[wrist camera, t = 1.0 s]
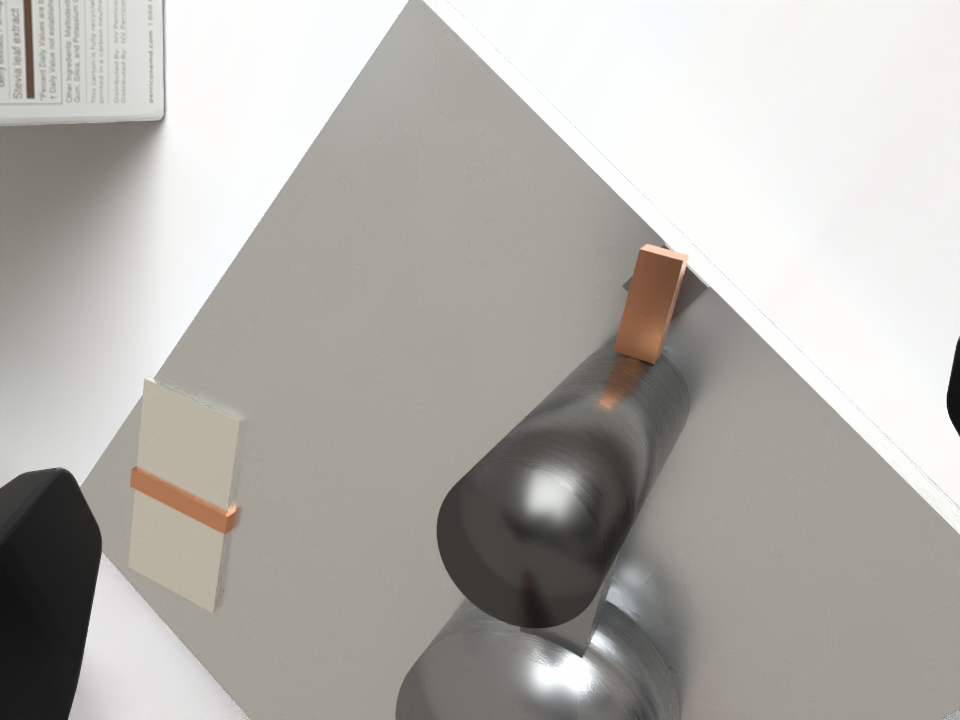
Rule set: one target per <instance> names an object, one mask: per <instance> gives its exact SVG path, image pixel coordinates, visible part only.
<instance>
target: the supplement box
mask: <svg viewBox="0 0 960 720" xmlns="http://www.w3.org/2000/svg"><path fill="white" fill-rule="evenodd" d="M163 116H164V78H163V14H162V0H0V127H4V126H29V125H54V124H79V123H109V122H125V121H158V120H160V119H161V118H162V117H163Z"/></svg>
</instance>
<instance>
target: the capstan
mask: <svg viewBox="0 0 960 720" xmlns="http://www.w3.org/2000/svg"><path fill="white" fill-rule="evenodd" d="M688 257H689V255H686V254H683V253H679V252H675V251H671V250H668V249H664V248H660V247H657V246H653V245H649V244H646V245H645V246H643V247H642V248H640V250H639V254H638V258H637V261H636V265H635V269H634V273H633V277H632V281H631V284H630V288H629V292H628V296H627V300H626V304H625V308H624V311H623V315H622V319H621V323H620V327H619V331H618V335H617V338H616V342H615V343H614V344H610V345H607V346H604V347H602V348H600V349H598V350H596V351H595V352H593V353H592V354H591V355H589V356H588V357H587V358H586V359H585V360H584V361H583V362H582V363H581V364H580V365H579V366H578V367H577V368H576V369H575V370H574V371H573V372H571V373H570V374H569V375H568V376H567V377H566V378H565V379H564V380H563V381H562V382H561V383H560V384H559V385H558V386H557V387H556V388H555V389H554V390H553V391H552V392H551V393H550V394H549V395H548V396H547V397H545V398H544V399H543V400H542V401H541V402H540V403H539V404H538V405H537V406H536V407H535V408H534V409H533V410H532V411H531V412H530V413H529V414H528V415H527V416H526V417H525V418H524V419H523V420H522V421H520V422H519V423H518V424H517V425H516V426H515V427H514V428H513V429H512V430H511V431H510V432H509V433H508V434H507V435H506V436H505V437H504V438H503V439H502V440H501V441H500V442H499V443H498V444H497V445H496V446H494V447H493V448H492V449H491V450H490V451H489V452H488V453H487V454H486V455H485V456H484V457H483V458H482V459H481V460H480V461H479V462H478V463H477V464H476V465H475V466H474V467H473V468H472V469H471V470H469V471H468V472H467V473H466V474H465V475H464V476H463V477H462V478H461V479H460V480H459V481H458V482H457V483H456V484H455V485H454V486H453V487H452V488H451V490H450V491H449V492H448V494H447V495H446V497H445V498H444V500H443V502H442V505H441V507H440V510H439V514H438V518H437V527H436V529H437V543H438V549H439V552H440V556H441V559H442V561H443V564H444V566H445V569H446V570H447V572H448V574H449V576H450V578H451V579H452V581H453V582H454V584H455V585H456V586H457V588H458V589H459V590H460V591H461V592H462V594H463V595H464V596H465V597H466V598H467V599H466V600H465V601H464V602H463V603H462V604H461V605H460V606H459V607H458V608H457V610H456V611H455V612H454V613H453V615H452V616H451V617H450V619H449V620H448V621H447V622H446V624H445V625H444V626H443V627H442V629H441V630H440V631H439V633H438V634H437V635H436V636H435V638H434V639H433V640H432V642H431V643H430V644H429V645H428V647H427V648H426V649H425V650H424V652H423V653H422V654H421V656H420V657H419V658H418V659H417V661H416V662H415V663H414V664H413V666H412V667H411V669H410V670H409V672H408V673H407V674H406V676H405V678H404V680H403V683H402V685H401V687H400V690H399V694H398V698H397V703H396V712H395V720H679V703H678V697H677V692H676V688H675V684H674V681H673V679H672V676H671V673H670V670H669V668H668V667H667V665H666V663H665V661H664V659H663V657H662V655H661V654H660V652H659V651H658V649H657V648H656V646H655V645H654V643H653V642H652V640H651V639H650V638H649V637H648V636H647V634H646V633H645V632H644V631H643V630H642V629H641V627H640V626H638V625H637V624H636V623H635V622H634V621H633V620H632V619H631V618H630V617H629V616H628V615H627V614H625V613H624V612H623V611H622V610H620V609H619V608H618V607H616V606H615V605H614V604H612V603H611V602H609V601H607V600H606V598H607V595H608V591H609V588H610V584H611V581H612V577H613V574H614V570H615V567H616V564H617V560H618V557H619V553H620V550H621V547H622V545H623V543H624V541H625V539H626V537H627V535H628V533H629V531H630V530H631V528H632V526H633V524H634V522H635V520H636V518H637V516H638V514H639V512H640V511H641V509H642V507H643V505H644V503H645V501H646V499H647V497H648V495H649V493H650V491H651V490H652V488H653V486H654V484H655V482H656V480H657V478H658V476H659V474H660V472H661V471H662V469H663V467H664V465H665V463H666V461H667V459H668V457H669V455H670V453H671V452H672V450H673V448H674V446H675V444H676V442H677V440H678V438H679V436H680V434H681V433H682V431H683V429H684V427H685V424H686V422H687V419H688V415H689V408H690V400H689V393H688V388H687V386H686V383H685V380H684V378H683V376H682V374H681V373H680V371H679V370H678V368H677V367H676V366H675V365H674V364H673V363H672V362H671V361H670V360H669V359H668V358H667V357H666V356H664V355H663V354H662V350H663V346H664V342H665V339H666V335H667V332H668V328H669V325H670V321H671V318H672V314H673V311H674V307H675V303H676V300H677V296H678V293H679V289H680V286H681V282H682V279H683V275H684V272H685V268H686V265H687V261H688Z"/></svg>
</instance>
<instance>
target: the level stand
mask: <svg viewBox="0 0 960 720" xmlns="http://www.w3.org/2000/svg"><path fill="white" fill-rule="evenodd" d="M646 244H649V245H653V246H657V247H660V248H664V249H668V250H671V251H675V252H679V253H683V254H686V255H689V257H688V261H687V265H686V268H685V272H684V275H683V279H682V282H681V286H680V289H679V293H678V296H677V300H676V303H675V307H674V311H673V314H672V318H671V321H670V325H669V328H668V332H667V335H666V339H665V342H664V346H663V350H662V354H663V355H664V356H666V357H667V358H668V359H669V360H670V361H671V362H672V363H673V364H674V365H675V366H676V367H677V368H678V370H679V371H680V373H681V374H682V376H683V378H684V380H685V383H686V386H687V388H688V393H689V400H690V408H689V415H688V419H687V422H686V424H685V427H684V429H683V431H682V433H681V434H680V436H679V438H678V440H677V442H676V444H675V446H674V448H673V450H672V452H671V453H670V455H669V457H668V459H667V461H666V463H665V465H664V467H663V469H662V471H661V472H660V474H659V476H658V478H657V480H656V482H655V484H654V486H653V488H652V490H651V491H650V493H649V495H648V497H647V499H646V501H645V503H644V505H643V507H642V509H641V511H640V512H639V514H638V516H637V518H636V520H635V522H634V524H633V526H632V528H631V530H630V531H629V533H628V535H627V537H626V539H625V541H624V543H623V545H622V547H621V550H620V553H619V557H618V560H617V564H616V567H615V570H614V574H613V577H612V581H611V584H610V588H609V591H608V595H607V598H606V600H607V601H609V602H611V603H612V604H614V605H615V606H616V607H618V608H619V609H620V610H622V611H623V612H624V613H625V614H627V615H628V616H629V617H630V618H631V619H632V620H633V621H634V622H635V623H636V624H637V625H638V626H640V627H641V629H642V630H643V631H644V632H645V633H646V634H647V636H648V637H649V638H650V639H651V640H652V642H653V643H654V645H655V646H656V648H657V649H658V651H659V652H660V654H661V655H662V657H663V659H664V661H665V663H666V665H667V667H668V668H669V670H670V673H671V676H672V679H673V681H674V684H675V688H676V692H677V697H678V703H679V720H940V719H942V718H944V717H946V716H948V715H950V714H952V713H954V712H955V711H957V710H959V709H960V509H959V508H958V507H957V506H956V505H955V504H954V503H953V502H952V501H951V500H950V499H949V498H948V497H947V496H946V495H945V494H944V493H943V492H942V491H941V490H940V489H939V488H938V487H937V486H936V485H935V484H934V483H933V482H932V481H931V480H930V479H929V478H928V477H927V476H926V475H925V474H924V473H923V472H922V471H921V470H920V469H919V468H918V467H917V466H916V465H915V464H914V463H913V462H912V461H911V460H910V459H909V458H908V457H907V456H906V455H905V454H904V453H903V452H902V451H901V450H900V449H899V448H898V447H897V446H896V445H895V444H894V443H893V442H892V441H891V440H890V439H889V438H888V437H887V436H886V435H885V434H884V433H883V432H882V431H881V430H880V429H879V428H878V427H877V426H876V425H875V424H874V423H873V422H872V421H871V420H870V419H869V418H868V417H867V416H866V415H865V414H864V413H863V412H861V411H860V410H859V409H858V408H857V407H856V406H855V405H854V404H853V403H852V402H851V401H850V400H849V399H848V398H847V397H846V396H845V395H844V394H843V393H842V392H841V391H840V390H839V389H838V388H837V387H836V386H835V385H834V384H833V383H832V382H831V381H830V380H829V379H828V378H827V377H826V376H825V375H824V374H823V373H822V372H821V371H820V370H819V369H818V368H817V367H816V366H815V365H814V364H813V363H812V362H811V361H810V360H809V359H808V358H807V357H806V356H805V355H804V354H803V353H802V352H801V351H800V350H799V349H798V348H797V347H796V346H795V345H794V344H793V343H792V342H791V341H790V340H789V339H788V338H787V337H786V336H785V335H784V334H783V333H782V332H781V331H780V330H779V329H778V328H777V327H776V326H775V325H774V324H773V323H772V322H771V321H770V320H769V319H768V318H767V317H766V316H765V315H764V314H763V313H762V312H761V311H760V310H759V309H758V308H757V307H756V306H755V305H754V304H753V303H752V302H751V301H750V300H749V299H748V298H747V297H746V296H745V295H743V294H742V293H741V292H740V291H739V290H738V289H737V288H736V287H735V286H734V285H733V284H732V283H731V282H730V281H729V280H728V279H727V278H726V277H725V276H724V275H723V274H722V273H721V272H720V271H719V270H718V269H717V268H716V267H715V266H714V265H713V264H712V263H711V262H710V261H709V260H708V259H707V258H706V257H705V256H704V255H703V254H702V253H701V252H700V251H699V250H698V249H697V248H696V247H695V246H694V245H693V244H692V243H691V242H690V241H689V240H688V239H687V238H686V237H685V236H684V235H683V234H682V233H681V232H680V231H679V230H678V229H677V228H676V227H675V226H674V225H673V224H672V223H671V222H670V221H669V220H668V219H667V218H666V217H665V216H664V215H663V214H662V213H661V212H660V211H659V210H658V209H657V208H656V207H655V206H654V205H653V204H652V203H651V202H650V201H649V200H648V199H647V198H646V197H645V196H644V195H643V194H642V193H641V192H640V191H639V190H638V189H637V188H636V187H635V186H634V185H633V184H632V183H631V182H630V181H629V180H628V179H627V178H625V177H624V176H623V175H622V174H621V173H620V172H619V171H618V170H617V169H616V168H615V167H614V166H613V165H612V164H611V163H610V162H609V161H608V160H607V159H606V158H605V157H604V156H603V155H602V154H601V153H600V152H599V151H598V150H597V149H596V148H595V147H594V146H593V145H592V144H591V143H590V142H589V141H588V140H587V139H586V138H585V137H584V136H583V135H582V134H581V133H580V132H579V131H578V130H577V129H576V128H575V127H574V126H573V125H572V124H571V123H570V122H569V121H568V120H567V119H566V118H565V117H564V116H563V115H562V114H561V113H560V112H559V111H558V110H557V109H556V108H555V107H554V106H553V105H552V104H551V103H550V102H549V101H548V100H547V99H546V98H545V97H544V96H543V95H542V94H541V93H540V92H539V91H538V90H537V89H536V88H535V87H534V86H533V85H532V84H531V83H530V82H529V81H528V80H527V79H526V78H525V77H524V76H523V75H522V74H521V73H520V72H519V71H518V70H517V69H516V68H515V67H514V66H513V65H512V64H511V63H510V62H509V61H507V60H506V59H505V58H504V57H503V56H502V55H501V54H500V53H499V52H498V51H497V50H496V49H495V48H494V47H493V46H492V45H491V44H490V43H489V42H488V41H487V40H486V39H485V38H484V37H483V36H482V35H481V34H480V33H479V32H478V31H477V30H476V29H475V28H474V27H473V26H472V25H471V24H470V23H469V22H468V21H467V20H466V19H465V18H464V17H463V16H462V15H461V14H460V13H459V12H458V11H457V10H456V9H455V8H454V7H453V6H452V5H451V4H450V3H449V2H448V1H447V0H409V1H408V3H407V4H406V6H405V7H404V9H403V10H402V12H401V13H400V15H399V16H398V18H397V19H396V21H395V22H394V24H393V25H392V27H391V28H390V30H389V31H388V32H387V34H386V35H385V37H384V38H383V40H382V41H381V43H380V44H379V46H378V47H377V49H376V50H375V52H374V53H373V55H372V56H371V58H370V59H369V61H368V62H367V64H366V65H365V67H364V68H363V69H362V71H361V72H360V74H359V75H358V77H357V78H356V80H355V81H354V83H353V84H352V86H351V87H350V89H349V90H348V92H347V93H346V95H345V96H344V98H343V99H342V101H341V102H340V104H339V105H338V106H337V108H336V109H335V111H334V112H333V114H332V115H331V117H330V118H329V120H328V121H327V123H326V124H325V126H324V127H323V129H322V130H321V132H320V133H319V135H318V136H317V138H316V139H315V141H314V142H313V144H312V145H311V146H310V148H309V149H308V151H307V152H306V154H305V155H304V157H303V158H302V160H301V161H300V163H299V164H298V166H297V167H296V169H295V170H294V172H293V173H292V175H291V176H290V178H289V179H288V181H287V182H286V183H285V185H284V186H283V188H282V189H281V191H280V192H279V194H278V195H277V197H276V198H275V200H274V201H273V203H272V204H271V206H270V207H269V209H268V210H267V212H266V213H265V215H264V216H263V218H262V219H261V221H260V222H259V223H258V225H257V226H256V228H255V229H254V231H253V232H252V234H251V235H250V237H249V238H248V240H247V241H246V243H245V244H244V246H243V247H242V249H241V250H240V252H239V253H238V255H237V256H236V258H235V259H234V260H233V262H232V263H231V265H230V266H229V268H228V269H227V271H226V272H225V274H224V275H223V277H222V278H221V280H220V281H219V283H218V284H217V286H216V287H215V289H214V290H213V292H212V293H211V295H210V296H209V297H208V299H207V300H206V302H205V303H204V305H203V306H202V308H201V309H200V311H199V312H198V314H197V315H196V317H195V318H194V320H193V321H192V323H191V324H190V326H189V327H188V329H187V330H186V332H185V333H184V335H183V336H182V337H181V339H180V340H179V342H178V343H177V345H176V346H175V348H174V349H173V351H172V352H171V354H170V355H169V357H168V358H167V360H166V361H165V363H164V364H163V366H162V367H161V369H160V370H159V372H158V373H157V374H156V376H155V377H154V378H152V377H147V378H144V390H143V395H142V397H141V398H140V400H139V401H138V403H137V404H136V406H135V407H134V409H133V410H132V411H131V413H130V414H129V416H128V417H127V419H126V420H125V422H124V423H123V425H122V426H121V428H120V429H119V431H118V432H117V434H116V435H115V437H114V438H113V440H112V441H111V443H110V444H109V446H108V447H107V449H106V450H105V451H104V453H103V454H102V456H101V457H100V459H99V460H98V462H97V463H96V465H95V466H94V468H93V469H92V471H91V472H90V474H89V475H88V477H87V478H86V480H85V481H84V483H83V484H82V486H81V487H80V489H81V491H82V493H83V495H84V497H85V499H86V501H87V503H88V505H89V507H90V509H91V511H92V513H93V515H94V517H95V519H96V521H97V523H98V525H99V528H100V532H101V536H102V552H103V553H104V554H105V555H106V556H107V557H108V559H109V560H110V561H111V562H112V563H113V564H114V565H115V566H116V568H117V569H118V570H119V571H120V572H121V573H122V574H123V575H124V577H125V578H126V579H127V580H128V581H129V582H130V583H131V585H132V586H133V587H134V588H135V589H136V590H137V591H138V592H139V594H140V595H141V596H142V597H143V598H144V599H145V600H146V601H147V603H148V604H149V605H150V606H151V607H152V608H153V609H154V611H155V612H156V613H157V614H158V615H159V616H160V617H161V618H162V620H163V621H164V622H165V623H166V624H167V625H168V626H169V627H170V629H171V630H172V631H173V632H174V633H175V634H176V635H177V637H178V638H179V639H180V640H181V641H182V642H183V643H184V644H185V646H186V647H187V648H188V649H189V650H190V651H191V652H192V654H193V655H194V656H195V657H196V658H197V659H198V660H199V661H200V663H201V664H202V665H203V666H204V667H205V668H206V669H207V670H208V672H209V673H210V674H211V675H212V676H213V677H214V678H215V680H216V681H217V682H218V683H219V684H220V685H221V686H222V687H223V689H224V690H225V691H226V692H227V693H228V694H229V695H230V696H231V698H232V699H233V700H234V701H235V702H236V703H237V704H238V706H239V707H240V708H241V709H242V710H243V711H244V712H245V713H246V715H247V716H248V717H249V718H250V719H251V720H395V712H396V703H397V698H398V694H399V690H400V687H401V685H402V683H403V680H404V678H405V676H406V674H407V673H408V672H409V670H410V669H411V667H412V666H413V664H414V663H415V662H416V661H417V659H418V658H419V657H420V656H421V654H422V653H423V652H424V650H425V649H426V648H427V647H428V645H429V644H430V643H431V642H432V640H433V639H434V638H435V636H436V635H437V634H438V633H439V631H440V630H441V629H442V627H443V626H444V625H445V624H446V622H447V621H448V620H449V619H450V617H451V616H452V615H453V613H454V612H455V611H456V610H457V608H458V607H459V606H460V605H461V604H462V603H463V602H464V601H465V600H466V599H467V598H466V597H465V596H464V595H463V594H462V592H461V591H460V590H459V589H458V588H457V586H456V585H455V584H454V582H453V581H452V579H451V578H450V576H449V574H448V572H447V570H446V569H445V566H444V564H443V561H442V559H441V556H440V552H439V549H438V543H437V529H436V527H437V518H438V514H439V510H440V507H441V505H442V502H443V500H444V498H445V497H446V495H447V494H448V492H449V491H450V490H451V488H452V487H453V486H454V485H455V484H456V483H457V482H458V481H459V480H460V479H461V478H462V477H463V476H464V475H465V474H466V473H467V472H468V471H469V470H471V469H472V468H473V467H474V466H475V465H476V464H477V463H478V462H479V461H480V460H481V459H482V458H483V457H484V456H485V455H486V454H487V453H488V452H489V451H490V450H491V449H492V448H493V447H494V446H496V445H497V444H498V443H499V442H500V441H501V440H502V439H503V438H504V437H505V436H506V435H507V434H508V433H509V432H510V431H511V430H512V429H513V428H514V427H515V426H516V425H517V424H518V423H519V422H520V421H522V420H523V419H524V418H525V417H526V416H527V415H528V414H529V413H530V412H531V411H532V410H533V409H534V408H535V407H536V406H537V405H538V404H539V403H540V402H541V401H542V400H543V399H544V398H545V397H547V396H548V395H549V394H550V393H551V392H552V391H553V390H554V389H555V388H556V387H557V386H558V385H559V384H560V383H561V382H562V381H563V380H564V379H565V378H566V377H567V376H568V375H569V374H570V373H571V372H573V371H574V370H575V369H576V368H577V367H578V366H579V365H580V364H581V363H582V362H583V361H584V360H585V359H586V358H587V357H588V356H589V355H591V354H592V353H593V352H595V351H596V350H598V349H600V348H602V347H604V346H607V345H610V344H614V343H615V342H616V338H617V335H618V331H619V327H620V323H621V319H622V315H623V311H624V308H625V304H626V300H627V296H628V292H629V288H630V284H631V281H632V277H633V273H634V269H635V265H636V261H637V258H638V254H639V250H640V248H642V247H643V246H645V245H646Z"/></svg>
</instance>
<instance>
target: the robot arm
mask: <svg viewBox="0 0 960 720" xmlns="http://www.w3.org/2000/svg"><path fill="white" fill-rule="evenodd" d="M947 409H948V414H949V417H950V419H951V421H952V424H953V425H954V427H955V429H956V431H957V432H958V434H959V436H960V337H959V339H958V342H957V345H956V350H955V355H954V360H953V366H952V371H951V376H950V381H949V386H948V392H947ZM101 553H102V536H101V532H100V528H99V525H98V523H97V521H96V519H95V517H94V515H93V513H92V511H91V509H90V507H89V505H88V503H87V501H86V499H85V497H84V495H83V493H82V491H81V489H80V487H79V485H78V483H77V481H76V479H75V478H74V476H73V475H72V474H71V473H70V472H69V471H68V470H66V469H63V468H52V469H45V470H38V471H32V472H26V473H23V474H21V475H19V476H17V477H16V478H14V479H13V480H12V481H10V482H9V483H7V484H6V485H5V486H3V487H2V488H0V720H68V717H69V714H70V710H71V706H72V703H73V699H74V695H75V692H76V688H77V684H78V679H79V674H80V670H81V665H82V660H83V654H84V648H85V643H86V637H87V632H88V626H89V620H90V615H91V609H92V604H93V598H94V592H95V587H96V581H97V576H98V570H99V564H100V559H101Z"/></svg>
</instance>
